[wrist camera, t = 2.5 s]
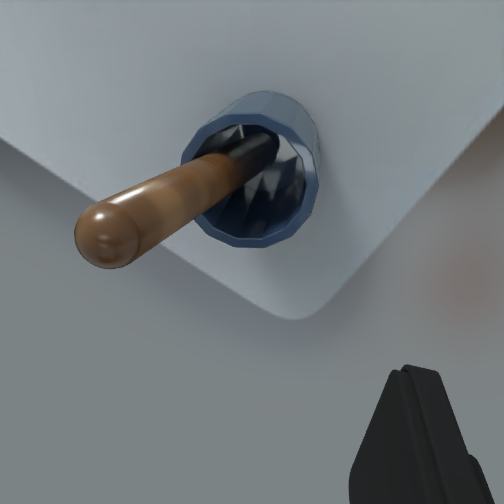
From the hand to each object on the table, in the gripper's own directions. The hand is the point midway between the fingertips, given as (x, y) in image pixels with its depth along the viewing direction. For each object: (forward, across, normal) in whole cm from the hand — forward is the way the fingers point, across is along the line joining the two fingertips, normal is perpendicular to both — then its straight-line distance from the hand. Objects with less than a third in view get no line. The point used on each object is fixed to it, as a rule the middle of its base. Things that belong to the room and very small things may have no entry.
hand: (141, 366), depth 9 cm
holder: (+21, 0, 0) cm, 21 cm away
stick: (+20, 0, 0) cm, 20 cm away
